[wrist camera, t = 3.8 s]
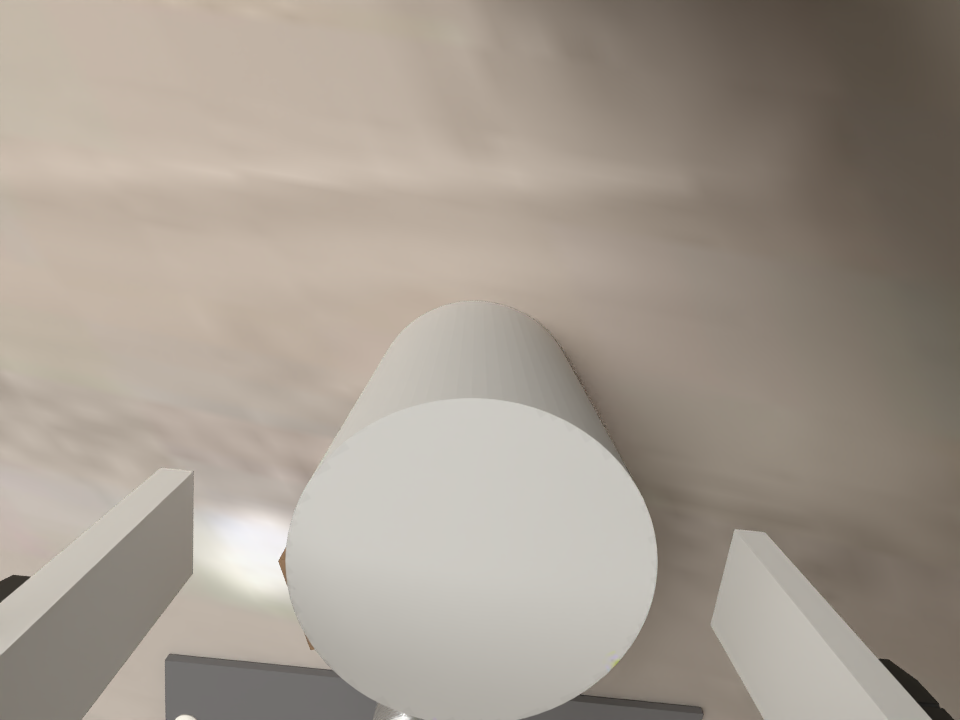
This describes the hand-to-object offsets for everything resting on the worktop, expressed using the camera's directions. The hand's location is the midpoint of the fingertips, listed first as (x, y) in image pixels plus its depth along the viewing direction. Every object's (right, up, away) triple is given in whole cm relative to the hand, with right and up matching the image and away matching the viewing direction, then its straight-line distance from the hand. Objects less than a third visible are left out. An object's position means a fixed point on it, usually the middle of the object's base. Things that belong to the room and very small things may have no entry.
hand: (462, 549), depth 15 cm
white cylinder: (0, +3, +10) cm, 11 cm away
